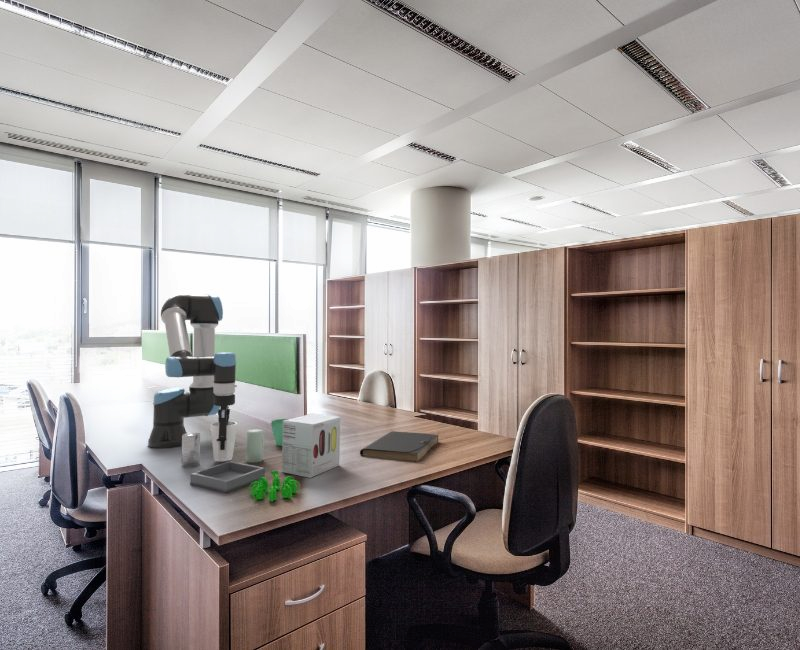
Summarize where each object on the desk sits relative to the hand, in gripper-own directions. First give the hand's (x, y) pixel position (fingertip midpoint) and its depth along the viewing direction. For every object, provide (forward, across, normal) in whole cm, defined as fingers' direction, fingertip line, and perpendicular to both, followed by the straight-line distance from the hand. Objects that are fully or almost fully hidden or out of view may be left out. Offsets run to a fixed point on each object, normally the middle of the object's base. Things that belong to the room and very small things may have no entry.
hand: (223, 454), depth 170 cm
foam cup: (+2, 0, 0) cm, 2 cm away
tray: (+3, -23, -3) cm, 23 cm away
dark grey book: (+3, +2, -70) cm, 70 cm away
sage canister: (+3, 0, -11) cm, 11 cm away
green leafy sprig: (+3, -39, -17) cm, 42 cm away
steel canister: (+3, 0, +11) cm, 11 cm away
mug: (+3, +20, -25) cm, 32 cm away
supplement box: (+3, -17, -30) cm, 35 cm away
